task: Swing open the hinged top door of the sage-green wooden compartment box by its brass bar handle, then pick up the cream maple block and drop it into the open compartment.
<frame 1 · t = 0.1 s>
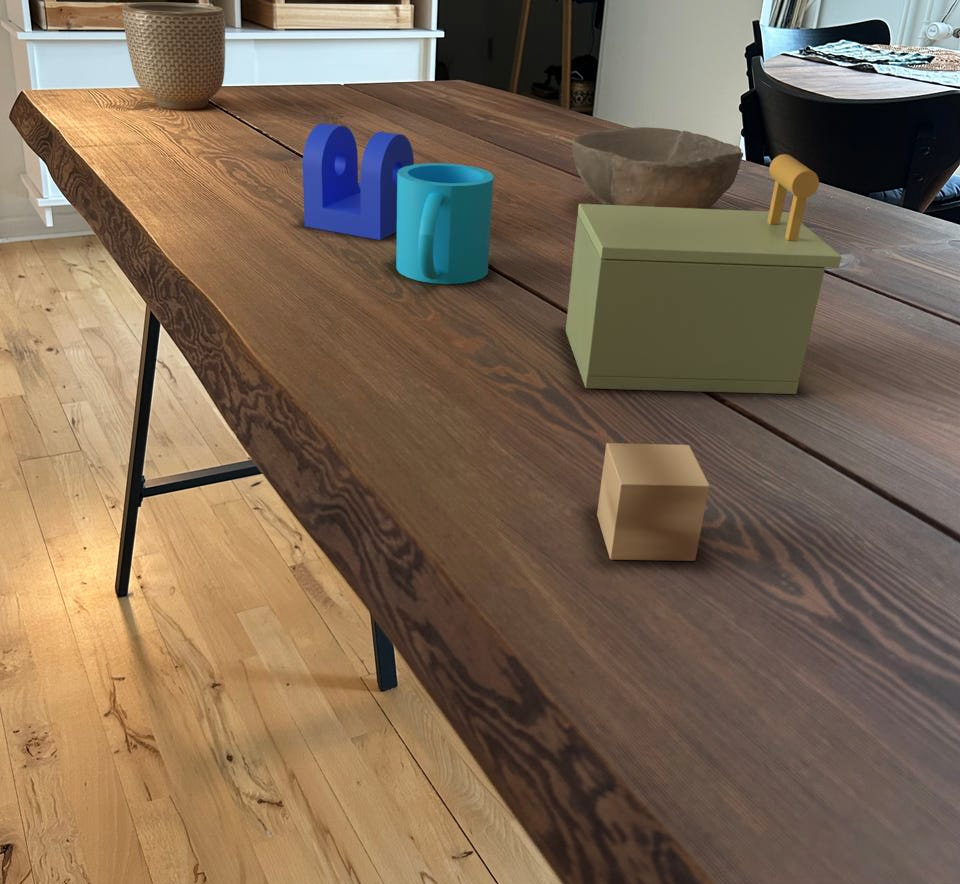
chest: (674, 361, 75), on the table
chest lid: (707, 199, 69), point 12 cm above the table, hinge at 0.0°
bowl: (646, 217, 111), on the table
mug: (437, 277, 89), on the table
planter: (182, 107, 151), on the table
block: (644, 537, 54), on the table
bracket: (385, 214, 106), on the table
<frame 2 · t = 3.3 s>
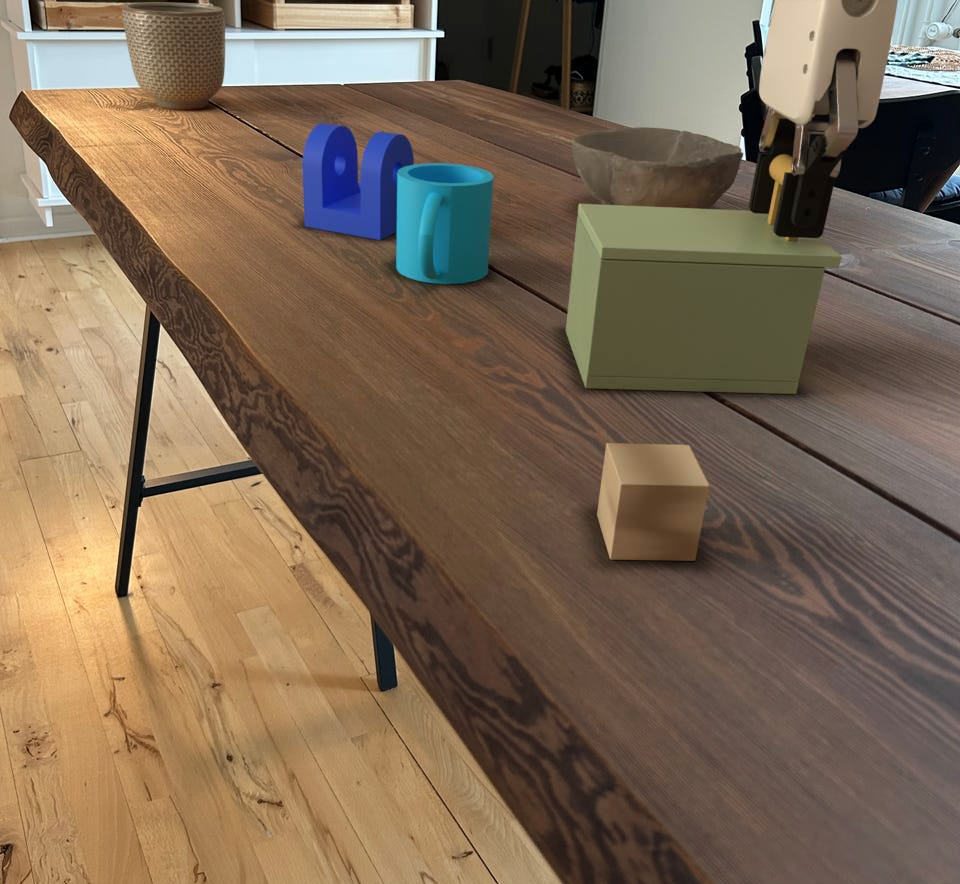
hand: (783, 221, 70), 10 cm above the table, tool pointing down, fingers closed on chest lid, 5 cm apart
chest lid: (707, 199, 69), point 12 cm above the table, hinge at 0.0°, touching gripper
everything else where it was.
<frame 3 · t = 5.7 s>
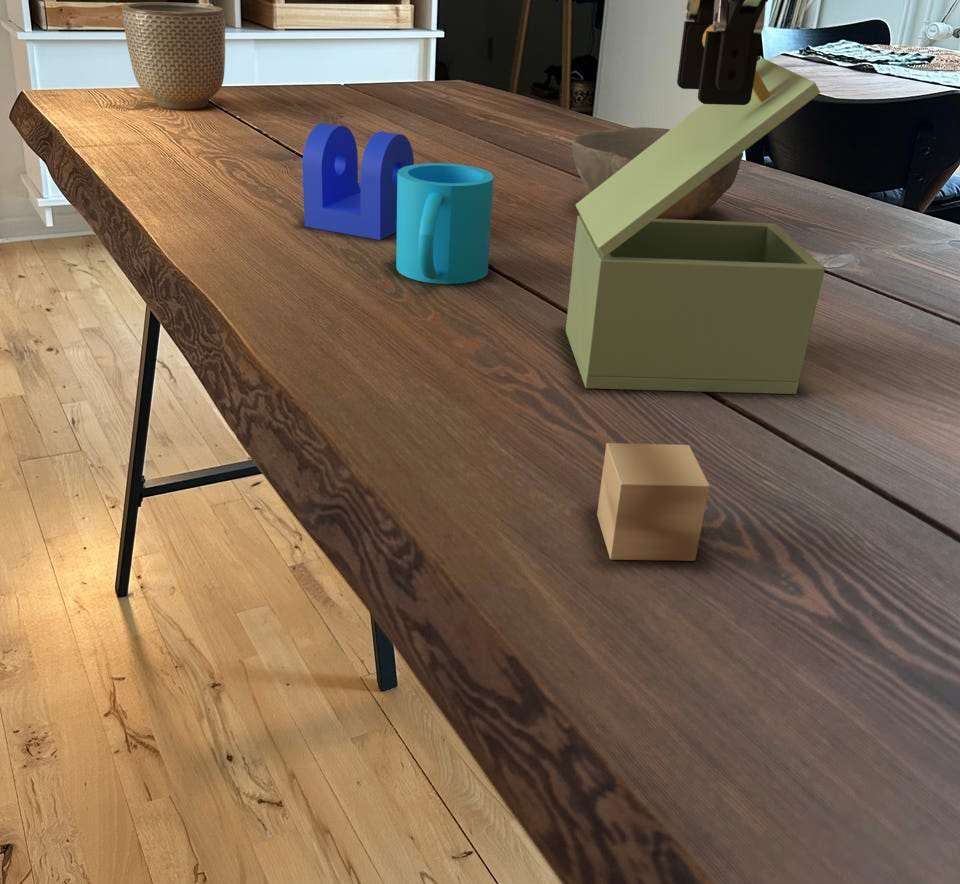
hand: (712, 92, 66), 18 cm above the table, tool pointing down, fingers closed on chest lid, 5 cm apart
chest lid: (667, 125, 67), point 16 cm above the table, hinge at 41.3°, touching gripper
everything else where it was.
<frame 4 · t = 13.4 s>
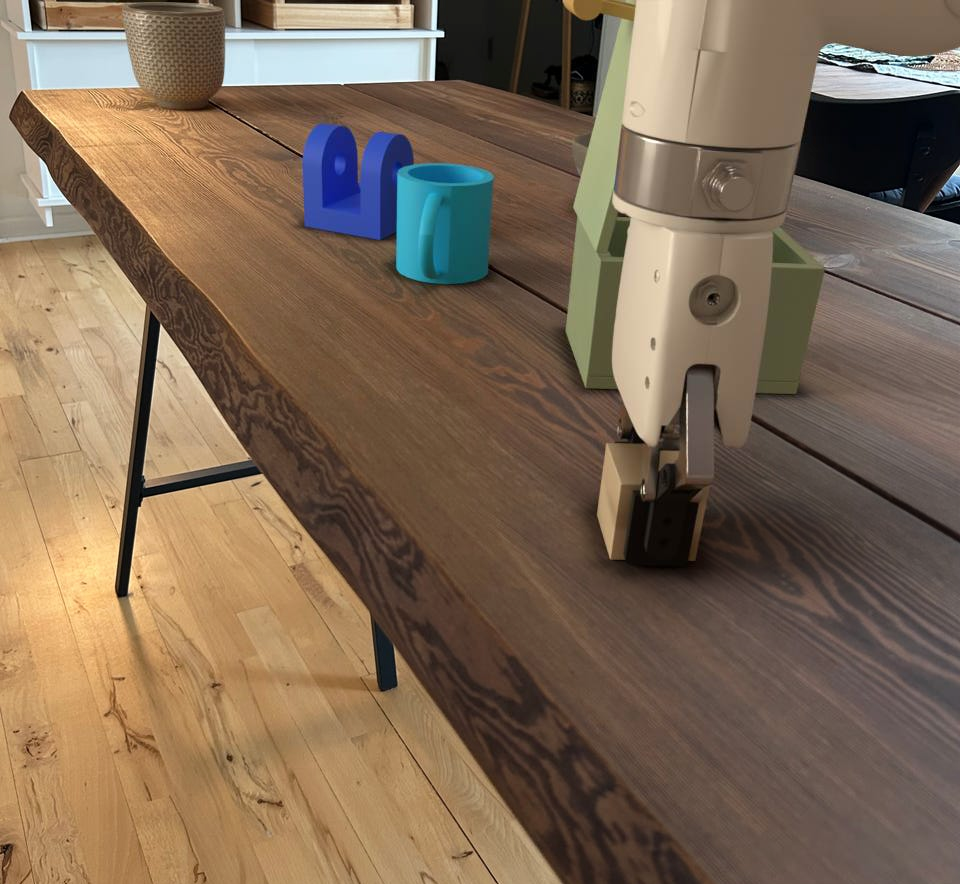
hand: (645, 531, 54), 0 cm above the table, tool pointing down, fingers closed on block, 4 cm apart
chest lid: (586, 101, 66), point 17 cm above the table, hinge at 81.0°
block: (644, 537, 54), on the table, touching gripper
everything else where it was.
when the fingers open (9 cm above the table, at t = 20.0 s): block drops 8 cm, resting on chest.
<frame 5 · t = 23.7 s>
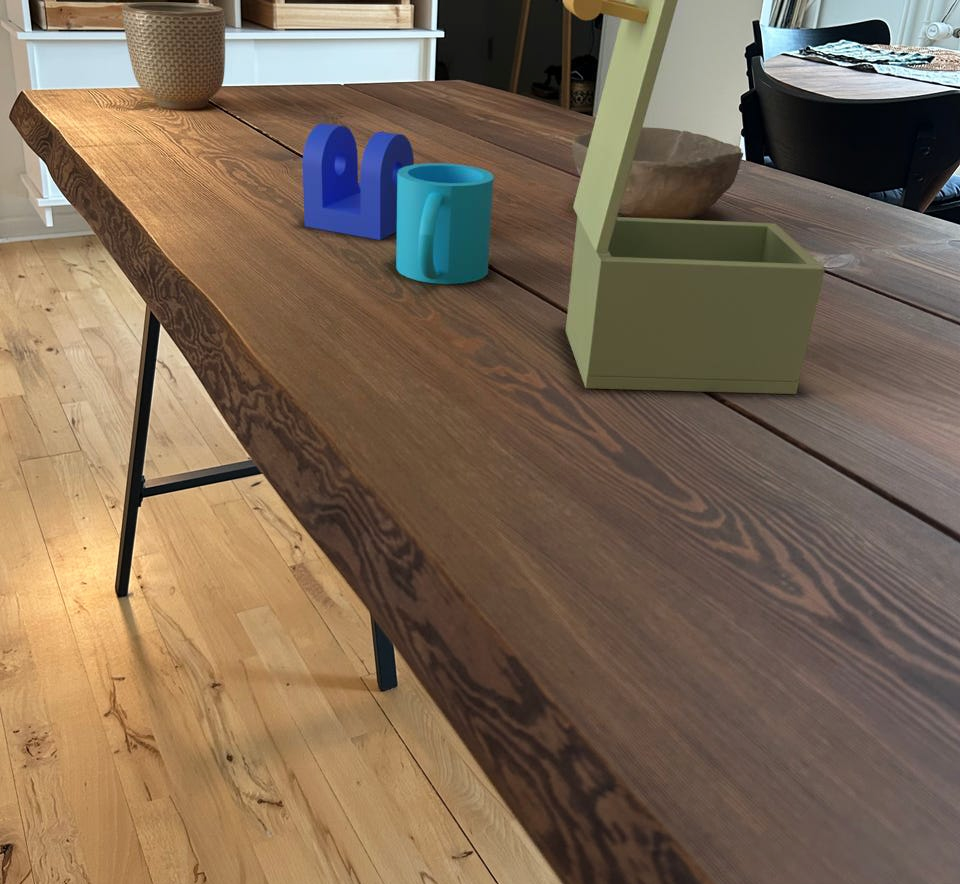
block: (703, 350, 75), point 1 cm above the table, touching chest
everything else where it was.
at the end: chest lid at +81° (first picture: +0°); block inside the target area in the chest (2.0 cm from its centre), point 0.9 cm above the chest's base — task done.
